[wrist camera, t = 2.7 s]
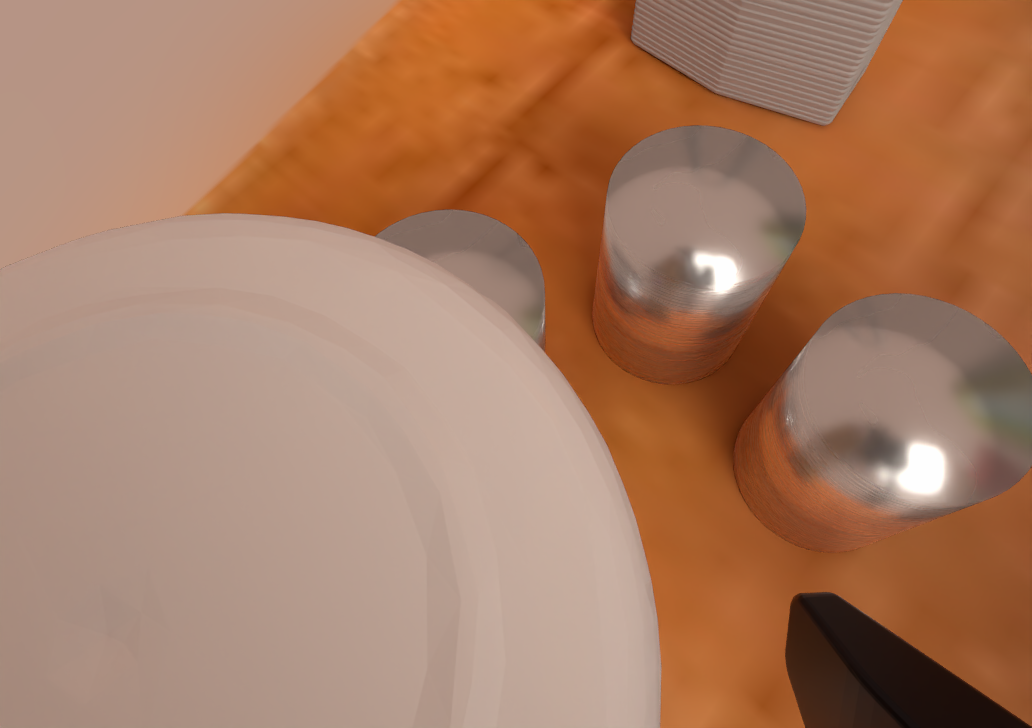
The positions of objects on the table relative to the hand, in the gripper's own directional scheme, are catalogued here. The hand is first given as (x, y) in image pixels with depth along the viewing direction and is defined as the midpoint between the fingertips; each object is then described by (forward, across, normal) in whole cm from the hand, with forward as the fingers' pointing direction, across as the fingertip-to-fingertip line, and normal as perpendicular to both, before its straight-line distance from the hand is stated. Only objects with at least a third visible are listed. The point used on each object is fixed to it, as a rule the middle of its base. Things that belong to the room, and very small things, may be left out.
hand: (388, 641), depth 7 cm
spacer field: (+10, -2, +2) cm, 10 cm away
